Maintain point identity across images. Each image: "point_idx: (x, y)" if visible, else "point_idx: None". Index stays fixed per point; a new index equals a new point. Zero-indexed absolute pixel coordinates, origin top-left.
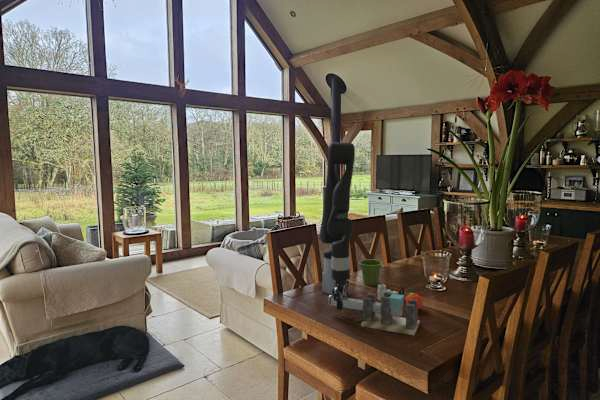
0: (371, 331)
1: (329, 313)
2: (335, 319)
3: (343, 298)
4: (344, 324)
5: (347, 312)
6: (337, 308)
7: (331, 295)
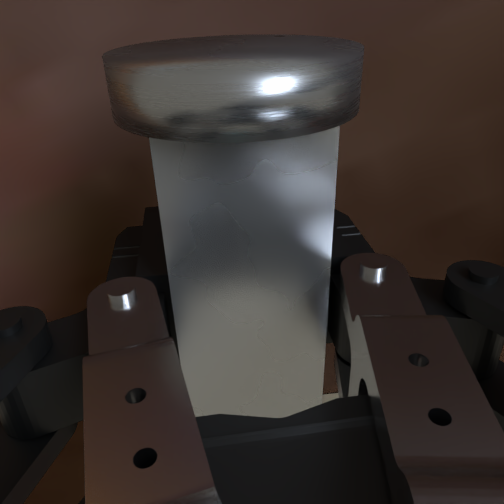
0: (55, 500)
1: (229, 4)
2: (89, 170)
3: (262, 364)
4: (31, 306)
5: (351, 206)
6: (123, 237)
7: (232, 133)
